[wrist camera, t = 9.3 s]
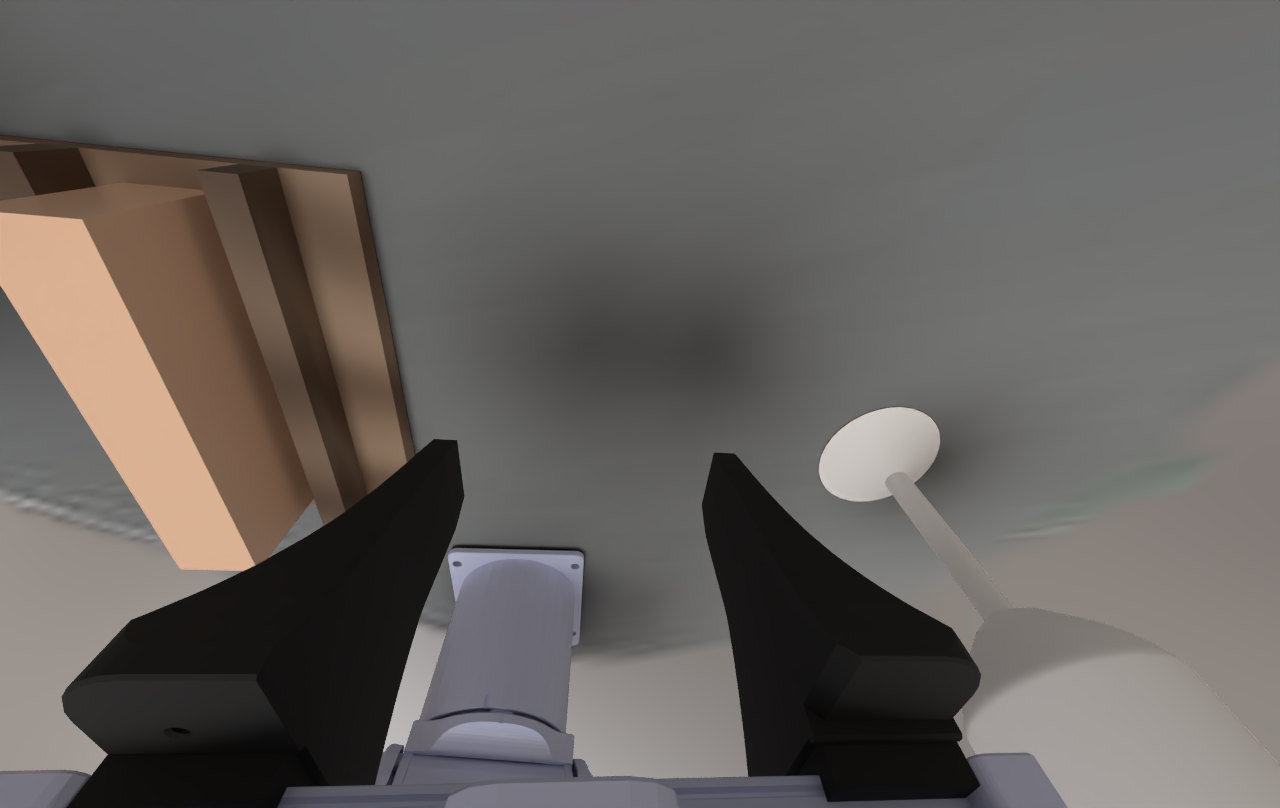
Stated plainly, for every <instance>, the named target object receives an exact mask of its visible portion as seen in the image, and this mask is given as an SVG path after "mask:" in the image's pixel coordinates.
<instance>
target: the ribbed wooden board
mask: <svg viewBox="0 0 1280 808" xmlns="http://www.w3.org/2000/svg"><path fill="white" fill-rule="evenodd" d="M117 183H134V184H145V185H156V186H166V187H177V188H188V189H198V190H203V192H204V195H205V197H206V200H207V203H208V206H209V208H210V211H211V214H212V217H213V220H214V222H215V225H216V228H217V231H218V233H219V236H220V239H221V242H222V244H223V247H224V250H225V253H226V256H227V258H228V261H229V264H230V267H231V269H232V272H233V275H234V278H235V281H236V283H237V286H238V289H239V292H240V294H241V297H242V300H243V303H244V306H245V308H246V311H247V314H248V317H249V319H250V322H251V325H252V328H253V331H254V333H255V336H256V339H257V342H258V344H259V347H260V350H261V353H262V355H263V358H264V361H265V364H266V367H267V369H268V372H269V375H270V378H271V380H272V383H273V386H274V389H275V392H276V394H277V397H278V400H279V403H280V405H281V408H282V411H283V414H284V417H285V419H286V422H287V425H288V428H289V430H290V433H291V436H292V439H293V442H294V444H295V447H296V450H297V453H298V455H299V458H300V461H301V464H302V466H303V469H304V472H305V475H306V478H307V480H308V483H309V486H310V489H311V491H312V494H313V497H314V499H313V500H312V501H311V503H312V504H316V505H317V508H318V511H319V514H320V516H321V519H322V522H323V525H326V524H327V523H329V522H331V521H332V520H333V519H335V518H336V517H338V516H339V515H341V514H342V513H344V512H345V511H347V510H348V509H349V508H351V507H352V506H353V505H355V504H356V503H357V502H359V501H360V500H361V499H363V498H364V497H365V496H367V495H368V494H369V493H371V492H372V491H373V490H374V489H376V488H377V487H378V486H379V485H381V484H382V483H383V482H384V481H385V480H387V479H388V478H389V477H390V476H392V475H393V474H394V473H395V472H396V471H398V470H399V469H400V468H401V467H402V466H403V465H405V464H406V463H407V462H408V461H409V460H410V459H411V458H413V457H414V456H415V453H414V448H413V443H412V437H411V432H410V427H409V422H408V417H407V412H406V407H405V401H404V396H403V391H402V386H401V381H400V376H399V370H398V365H397V360H396V355H395V350H394V345H393V339H392V334H391V329H390V324H389V319H388V314H387V309H386V303H385V298H384V293H383V288H382V283H381V278H380V272H379V267H378V262H377V257H376V252H375V247H374V241H373V236H372V231H371V226H370V221H369V216H368V210H367V205H366V200H365V195H364V190H363V185H362V180H361V174H360V171H350V170H341V169H331V168H321V167H311V166H301V165H291V164H281V163H271V162H261V161H251V160H241V159H232V158H222V157H212V156H202V155H192V154H182V153H172V152H162V151H152V150H142V149H132V148H123V147H113V146H103V145H93V144H83V143H73V142H63V141H53V140H43V139H33V138H23V137H14V136H4V135H0V201H3V200H10V199H16V198H23V197H30V196H37V195H43V194H50V193H57V192H64V191H70V190H77V189H84V188H90V187H97V186H104V185H111V184H117Z"/></svg>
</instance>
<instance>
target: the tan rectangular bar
mask: <svg viewBox="0 0 1280 808" xmlns="http://www.w3.org/2000/svg"><path fill="white" fill-rule="evenodd" d="M0 286H1V287H2V289H3V290H4V292H5V294H6V295H7V297H8V298H9V300H10V301H11V303H12V305H13V306H14V308H15V309H16V311H17V312H18V314H19V316H20V317H21V319H22V320H23V322H24V324H25V325H26V327H27V328H28V330H29V331H30V333H31V335H32V336H33V338H34V339H35V341H36V342H37V344H38V346H39V347H40V349H41V350H42V352H43V354H44V355H45V357H46V358H47V360H48V361H49V363H50V365H51V366H52V368H53V369H54V371H55V372H56V374H57V376H58V377H59V379H60V380H61V382H62V384H63V385H64V387H65V388H66V390H67V391H68V393H69V395H70V396H71V398H72V399H73V401H74V403H75V404H76V406H77V407H78V409H79V410H80V412H81V414H82V415H83V417H84V418H85V420H86V421H87V423H88V425H89V426H90V428H91V429H92V431H93V433H94V434H95V436H96V437H97V439H98V440H99V442H100V444H101V445H102V447H103V448H104V450H105V451H106V453H107V455H108V456H109V458H110V459H111V461H112V463H113V464H114V466H115V467H116V469H117V470H118V472H119V474H120V475H121V477H122V478H123V480H124V481H125V483H126V485H127V486H128V488H129V489H130V491H131V493H132V494H133V496H134V497H135V499H136V500H137V502H138V504H139V505H140V507H141V508H142V510H143V511H144V513H145V515H146V516H147V518H148V519H149V521H150V523H151V524H152V526H153V527H154V529H155V530H156V532H157V534H158V535H159V537H160V538H161V540H162V542H163V543H164V545H165V546H166V548H167V549H168V551H169V553H170V554H171V556H172V557H173V559H174V560H175V562H176V563H177V565H178V567H179V568H180V569H187V570H236V571H245V570H247V569H249V568H251V567H253V566H255V565H257V564H259V563H261V562H262V561H264V560H266V559H268V557H269V556H270V555H271V554H272V552H273V551H274V550H275V548H276V547H277V546H278V544H279V543H280V542H281V540H282V539H283V538H284V537H285V535H286V534H287V533H288V531H289V530H290V529H291V527H292V526H293V525H294V523H295V522H296V521H297V520H298V518H299V517H300V516H301V514H302V513H303V512H304V510H305V509H306V508H307V506H308V505H309V504H310V503H311V501H312V500H313V499H314V497H313V494H312V491H311V489H310V486H309V483H308V480H307V478H306V475H305V472H304V469H303V466H302V464H301V461H300V458H299V455H298V453H297V450H296V447H295V444H294V442H293V439H292V436H291V433H290V430H289V428H288V425H287V422H286V419H285V417H284V414H283V411H282V408H281V405H280V403H279V400H278V397H277V394H276V392H275V389H274V386H273V383H272V380H271V378H270V375H269V372H268V369H267V367H266V364H265V361H264V358H263V355H262V353H261V350H260V347H259V344H258V342H257V339H256V336H255V333H254V331H253V328H252V325H251V322H250V319H249V317H248V314H247V311H246V308H245V306H244V303H243V300H242V297H241V294H240V292H239V289H238V286H237V283H236V281H235V278H234V275H233V272H232V269H231V267H230V264H229V261H228V258H227V256H226V253H225V250H224V247H223V244H222V242H221V239H220V236H219V233H218V231H217V228H216V225H215V222H214V220H213V217H212V214H211V211H210V208H209V206H208V203H207V200H206V197H205V195H204V192H203V190H198V189H188V188H177V187H166V186H156V185H145V184H134V183H117V184H111V185H104V186H97V187H90V188H84V189H77V190H70V191H64V192H57V193H50V194H43V195H37V196H30V197H23V198H16V199H10V200H3V201H0Z"/></svg>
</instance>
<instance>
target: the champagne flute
mask: <svg viewBox="0 0 1280 808" xmlns="http://www.w3.org/2000/svg"><path fill="white" fill-rule="evenodd" d="M939 446H940V433H939V430H938V428H937V425H936V424H935V422H934V421H933V420H932V419H931V418H930V417H929V416H927V415H926V414H924V413H923V412H920V411H918V410H915V409H911V408H904V407H893V408H885V409H880V410H876V411H873V412H870V413H867V414H864V415H862V416H860V417H859V418H857V419H855V420H853V421H851V422H850V423H848V424H847V425H846V426H844V427H843V428H841V429H840V430H839V431H838V432H837V433H836V434H835V435H834V436H833V437H832V439H831V440H830V441H829V443H828V444H827V445H826V447H825V449H824V451H823V453H822V455H821V459H820V463H819V475H820V479H821V482H822V483H823V485H824V486H825V488H826V489H827V490H828V491H829V492H830V493H832V494H833V495H835V496H837V497H839V498H842V499H845V500H849V501H858V502H861V501H873V500H878V499H882V498H885V497H888V496H892V495H893V496H894V498H895V499H896V500H897V502H898V503H899V505H900V506H901V507H902V509H903V510H904V511H905V513H906V514H907V515H908V517H909V518H910V520H911V521H912V522H913V524H914V525H915V526H916V528H917V529H918V530H919V532H920V533H921V535H922V536H923V537H924V539H925V540H926V541H927V543H928V544H929V545H930V547H931V548H932V550H933V551H934V552H935V554H936V555H937V556H938V558H939V559H940V561H941V562H942V563H943V565H944V566H945V567H946V569H947V570H948V571H949V573H950V574H951V576H952V577H953V578H954V580H955V581H956V582H957V584H958V585H959V586H960V588H961V589H962V591H963V592H964V593H965V595H966V596H967V597H968V598H969V600H970V601H971V603H972V604H973V606H974V607H975V608H976V610H977V611H978V612H979V614H980V615H981V616H982V618H983V619H984V620H985V622H984V624H983V625H982V626H981V627H980V629H979V630H978V631H977V633H976V636H975V639H974V642H973V645H972V649H971V652H970V656H971V657H972V659H973V660H974V662H975V663H976V665H977V666H978V668H979V671H980V673H981V679H980V684H979V688H978V689H977V691H976V692H975V694H974V695H973V696H972V697H971V698H970V700H969V701H968V702H967V703H966V704H965V705H964V706H963V707H962V713H963V723H964V730H965V733H966V736H967V739H968V742H969V744H970V745H971V747H972V748H973V750H974V751H975V753H976V754H984V753H1030V754H1032V755H1033V756H1034V757H1035V758H1036V760H1037V762H1038V763H1039V765H1040V766H1041V768H1042V769H1043V771H1044V772H1045V774H1046V775H1047V777H1048V778H1049V780H1050V781H1051V783H1052V784H1053V786H1054V787H1055V789H1056V790H1057V792H1058V794H1059V795H1060V797H1061V798H1062V800H1063V801H1064V803H1065V804H1066V806H1067V807H1068V808H1280V764H1279V763H1278V762H1277V761H1276V760H1275V759H1274V758H1273V757H1272V755H1271V754H1270V753H1269V752H1268V751H1267V750H1266V749H1265V748H1264V747H1263V745H1262V744H1261V743H1260V742H1259V741H1258V740H1257V739H1256V738H1255V737H1254V736H1253V734H1252V733H1251V732H1250V731H1249V730H1248V729H1247V728H1246V727H1245V726H1244V725H1243V723H1242V722H1241V721H1240V720H1239V719H1238V718H1237V717H1236V716H1235V715H1234V713H1233V712H1232V711H1231V710H1230V709H1229V708H1228V707H1227V706H1226V705H1225V704H1224V702H1223V701H1222V700H1221V699H1220V698H1219V697H1218V696H1217V695H1216V694H1215V692H1214V691H1213V690H1212V689H1211V688H1210V687H1209V686H1208V685H1207V684H1206V683H1205V681H1204V680H1203V679H1202V678H1201V677H1200V676H1199V675H1198V674H1197V673H1196V672H1195V670H1194V669H1193V668H1192V667H1191V666H1190V665H1188V664H1187V663H1186V662H1184V661H1183V660H1181V659H1180V658H1179V657H1177V656H1176V655H1174V654H1172V653H1171V652H1169V651H1167V650H1166V649H1164V648H1162V647H1160V646H1158V645H1156V644H1154V643H1151V642H1149V641H1147V640H1145V639H1143V638H1141V637H1139V636H1137V635H1135V634H1132V633H1129V632H1126V631H1124V630H1121V629H1118V628H1115V627H1113V626H1109V625H1107V624H1104V623H1101V622H1097V621H1093V620H1088V619H1084V618H1079V617H1075V616H1070V615H1065V614H1060V613H1056V612H1051V611H1047V610H1042V609H1037V608H1015V607H1014V606H1013V605H1012V603H1011V602H1010V601H1009V600H1008V598H1007V597H1006V596H1005V595H1004V593H1003V592H1002V591H1001V590H1000V589H999V587H998V586H997V585H996V584H995V583H994V581H993V580H992V579H991V577H990V576H989V575H988V574H987V573H986V571H985V570H984V569H983V568H982V566H981V565H980V564H979V563H978V561H977V560H976V559H975V558H974V557H973V555H972V554H971V553H970V552H969V550H968V549H967V548H966V547H965V546H964V544H963V543H962V542H961V541H960V539H959V538H958V537H957V536H956V534H955V533H954V532H953V531H952V530H951V528H950V527H949V526H948V525H947V523H946V522H945V521H944V520H943V518H942V517H941V516H940V515H939V514H938V512H937V511H936V510H935V509H934V507H933V506H932V505H931V504H930V502H929V501H928V500H927V499H926V498H925V496H924V495H923V494H922V493H921V491H920V490H919V489H918V488H917V486H916V485H915V484H914V483H915V482H916V481H917V480H918V479H919V478H921V477H922V476H923V475H924V473H925V472H926V471H927V470H928V469H929V468H930V466H931V465H932V463H933V462H934V460H935V458H936V456H937V453H938V451H939Z"/></svg>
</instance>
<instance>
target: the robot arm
mask: <svg viewBox="0 0 1280 808" xmlns="http://www.w3.org/2000/svg"><path fill="white" fill-rule="evenodd" d="M463 499H464V490H463V482H462V475H461V467H460V460H459V452H458V444H457V440H439V439H434V440H433V441H431V442H430V443H429V444H428V445H427V446H425V447H424V448H423V449H422V450H421V451H420V452H418V453H417V454H416V455H415V456H414V457H413V458H411V459H410V460H409V461H408V462H407V463H406V464H405V465H403V466H402V467H401V468H400V469H399V470H398V471H396V472H395V473H394V474H393V475H392V476H390V477H389V478H388V479H387V480H385V481H384V482H383V483H382V484H381V485H379V486H378V487H377V488H376V489H374V490H373V491H372V492H371V493H369V494H368V495H367V496H365V497H364V498H363V499H361V500H360V501H359V502H357V503H356V504H355V505H353V506H352V507H351V508H349V509H348V510H347V511H345V512H344V513H342V514H341V515H339V516H338V517H336V518H335V519H333V520H332V521H331V522H329V523H327V524H326V525H324V526H323V527H321V528H320V529H318V530H316V531H315V532H313V533H312V534H310V535H308V536H307V537H305V538H304V539H302V540H300V541H298V542H297V543H295V544H293V545H291V546H289V547H288V548H286V549H284V550H282V551H280V552H279V553H277V554H275V555H273V556H271V557H270V558H268V559H266V560H264V561H262V562H261V563H259V564H257V565H255V566H253V567H251V568H249V569H247V570H245V571H243V572H241V573H239V574H237V575H235V576H233V577H230V578H228V579H226V580H224V581H222V582H220V583H218V584H216V585H213V586H211V587H209V588H207V589H205V590H203V591H200V592H198V593H196V594H193V595H191V596H189V597H187V598H184V599H182V600H179V601H177V602H174V603H172V604H170V605H167V606H165V607H162V608H160V609H158V610H155V611H153V612H150V613H148V614H145V615H143V616H140V617H138V618H135V619H132V620H131V621H130V622H129V623H128V624H127V625H126V626H125V627H124V628H123V629H122V630H121V631H120V632H119V633H118V634H117V635H116V636H115V637H114V638H113V639H112V640H111V642H110V643H109V644H108V645H107V646H106V647H105V648H104V649H103V650H102V651H101V652H100V653H99V654H98V655H97V656H96V658H95V659H94V660H93V661H92V662H91V663H90V664H89V665H88V666H87V667H86V668H85V669H84V670H83V671H82V672H81V673H80V674H79V676H78V677H77V678H76V679H75V680H74V681H73V682H72V683H71V684H70V685H69V686H68V687H67V689H66V690H65V692H64V694H63V695H62V702H63V708H64V712H65V713H66V715H67V716H68V717H69V719H70V720H71V721H72V722H73V723H74V724H75V725H76V726H77V727H78V728H79V729H80V730H82V731H83V732H84V733H85V734H86V735H87V736H88V737H89V738H91V739H92V740H93V741H94V742H95V743H96V744H97V745H98V746H99V747H100V748H102V749H103V750H104V751H105V752H106V753H107V754H108V755H107V756H106V758H105V759H104V760H103V762H102V763H101V764H100V765H99V767H98V768H97V769H96V771H95V772H94V773H93V775H92V776H91V775H89V774H86V773H82V772H78V771H70V770H40V771H39V770H35V771H1V772H0V808H1068V807H1067V806H1066V804H1065V803H1064V801H1063V800H1062V798H1061V797H1060V795H1059V794H1058V792H1057V790H1056V789H1055V787H1054V786H1053V784H1052V783H1051V781H1050V780H1049V778H1048V777H1047V775H1046V774H1045V772H1044V771H1043V769H1042V768H1041V766H1040V765H1039V763H1038V762H1037V760H1036V758H1035V757H1034V756H1033V755H1032V754H1030V753H984V754H977V755H974V756H971V757H968V758H967V759H966V758H965V756H964V754H963V752H962V750H961V748H960V747H959V745H958V743H957V741H960V740H961V739H962V733H961V731H960V729H959V727H958V726H957V724H956V722H955V720H954V718H953V717H954V716H955V715H956V714H957V713H958V712H959V710H960V709H961V708H962V707H963V706H964V705H965V704H966V703H967V702H968V701H969V700H970V698H971V697H972V696H973V695H974V694H975V692H976V691H977V689H978V688H979V684H980V679H981V673H980V671H979V668H978V666H977V665H976V663H975V662H974V660H973V659H972V657H971V656H970V654H969V653H968V652H967V650H966V648H965V647H964V645H963V644H962V642H961V641H960V639H959V638H958V636H957V635H956V633H955V632H954V631H953V629H952V628H950V627H949V626H946V625H945V624H943V623H941V622H939V621H938V620H936V619H934V618H932V617H930V616H929V615H927V614H925V613H923V612H921V611H919V610H918V609H916V608H914V607H912V606H910V605H908V604H907V603H905V602H903V601H902V600H900V599H899V598H897V597H895V596H894V595H892V594H890V593H889V592H887V591H886V590H884V589H882V588H881V587H879V586H878V585H876V584H875V583H873V582H872V581H870V580H869V579H867V578H866V577H864V576H863V575H861V574H860V573H859V572H857V571H856V570H855V569H853V568H852V567H850V566H849V565H848V564H846V563H845V562H843V561H842V560H841V559H840V558H838V557H837V556H836V555H834V554H833V553H832V552H831V551H829V550H828V549H827V548H826V547H825V546H823V545H822V544H821V543H820V542H819V541H817V540H816V539H815V538H814V537H813V536H812V535H810V534H809V533H808V532H807V531H806V530H805V529H804V528H803V527H802V526H801V525H800V524H799V523H798V522H796V521H795V520H794V519H793V518H792V517H791V516H790V515H789V514H788V513H787V512H786V511H785V510H784V509H783V508H782V507H781V506H780V505H779V504H778V502H777V501H776V500H775V499H774V498H773V497H772V496H771V495H770V494H769V493H768V492H767V491H766V489H765V488H764V487H763V486H762V485H761V484H760V483H759V481H758V480H757V479H756V478H755V477H754V476H753V475H752V473H751V472H750V471H749V470H748V469H747V467H746V466H745V465H744V464H743V463H742V462H741V460H740V459H739V458H738V457H737V456H736V455H735V454H731V453H714V455H713V459H712V464H711V468H710V472H709V476H708V481H707V485H706V489H705V494H704V498H703V502H702V510H703V518H704V526H705V533H706V538H707V542H708V546H709V550H710V554H711V558H712V561H713V565H714V569H715V573H716V576H717V580H718V584H719V588H720V591H721V595H722V599H723V602H724V606H725V611H726V615H727V620H728V625H729V631H730V637H731V643H732V649H733V656H734V662H735V669H736V676H737V683H738V690H739V698H740V706H741V714H742V722H743V730H744V739H745V748H746V758H747V768H748V777H723V778H722V777H721V778H720V777H719V778H673V779H653V778H644V777H632V776H611V777H609V776H607V777H593V776H592V775H591V773H590V771H589V770H588V766H587V764H586V763H585V761H584V760H582V759H573V748H574V747H573V746H574V736H573V735H572V734H566V720H567V707H568V693H569V678H570V665H571V651H572V646H574V645H577V644H578V643H579V636H580V618H581V600H582V583H583V565H584V555H583V554H582V553H581V552H579V551H557V550H518V549H479V548H454V549H451V550H450V552H449V554H448V562H449V567H450V573H451V579H452V585H453V591H454V597H455V602H456V604H455V607H454V611H453V614H452V617H451V620H450V623H449V627H448V630H447V633H446V636H445V639H444V643H443V646H442V649H441V652H440V655H439V658H438V662H437V665H436V668H435V671H434V674H433V678H432V681H431V684H430V687H429V690H428V694H427V697H426V700H425V703H424V706H423V709H422V713H421V716H420V719H419V720H416V721H414V722H413V725H412V729H411V731H410V735H409V738H408V741H407V744H406V747H405V750H404V746H403V745H398V744H391V745H390V746H389V747H388V748H387V749H386V751H385V752H383V749H384V744H385V740H386V736H387V732H388V728H389V725H390V721H391V717H392V713H393V709H394V705H395V702H396V698H397V694H398V690H399V687H400V683H401V680H402V676H403V672H404V668H405V665H406V661H407V658H408V655H409V651H410V648H411V644H412V641H413V638H414V635H415V631H416V628H417V625H418V621H419V618H420V615H421V613H422V610H423V607H424V605H425V602H426V599H427V597H428V595H429V592H430V590H431V587H432V585H433V583H434V580H435V578H436V575H437V573H438V571H439V568H440V566H441V563H442V561H443V559H444V556H445V554H446V551H447V549H448V546H449V544H450V542H451V539H452V537H453V534H454V532H455V529H456V526H457V522H458V518H459V515H460V511H461V507H462V503H463ZM403 751H404V753H403Z"/></svg>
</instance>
